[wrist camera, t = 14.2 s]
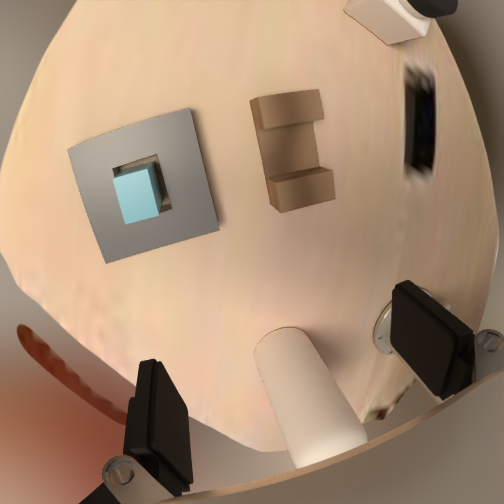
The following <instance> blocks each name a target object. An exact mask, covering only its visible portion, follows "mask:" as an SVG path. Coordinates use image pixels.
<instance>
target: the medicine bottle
mask: <svg viewBox="0 0 504 504" xmlns="http://www.w3.org/2000/svg"><path fill="white" fill-rule="evenodd" d="M457 5H458V0H349V2H348V3H347V5H346V7H345V9H344V12H345V13H347V14H348V15H349V16H351V17H352V18H354V19H355V20H356V21H358V22H359V23H360V24H362V25H363V26H364V27H366V28H367V29H368V30H369V31H371V32H372V33H373V34H374V35H376V36H377V37H378V38H379V39H381V40H382V41H383V42H384V43H385V44H387V45H391V44H395V43H399V42H403V41H408V40H412V39H417V38H421V37H425V36H426V34H427V31H428V28H429V26H430V23H431V21H432V18H437V17H441V16H445V15H450V14H453V13H455V11H456V9H457Z"/></svg>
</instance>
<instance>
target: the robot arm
mask: <svg viewBox="0 0 504 504" xmlns="http://www.w3.org/2000/svg"><path fill="white" fill-rule="evenodd" d="M450 309H451V305H450V304H449V303H448V302H447V303H445V304H443V305H441V304H440V303H438V302H437V301H436V300H434V299H433V297H432V295H431V294H430V293H429V292H428V291H426V290H425V289H422V288H419V287H418V286H416V285H415V284H414V283H413V282H411V281H410V280H406V281H403V282H401V283H398V284H396V285H395V289H393V291H392V302H391V303H390V304H389V305H388V306H387V307H386V308H385V310H384V311H383V312H382V314H381V316H380V317H379V319H378V321H377V324H376V326H375V329H374V335H373V340H374V344H375V346H376V348H377V349H378V350H379V351H380V352H381V353H383V354H387V355H391V354H395V355H396V356H397V357H398V358H399V359H400V360H401V362H402V363H403V364H404V365H405V366H406V367H407V368H408V370H409V371H410V372H411V373H412V374H413V375H414V377H415V378H416V379H417V380H418V381H419V382H420V384H421V385H422V386H423V387H424V388H425V389H426V391H427V392H428V393H429V394H430V395H431V396H432V398H433V399H434V400H435V401H436V402H437V404H438V406H436V407H435V408H433V409H431V410H430V411H428V412H426V413H424V414H423V415H421V416H419V417H417V418H415V419H414V420H412V421H410V422H408V423H406V424H404V425H402V426H400V427H399V428H396V429H394V430H393V431H390V432H389V433H386V434H385V435H382V436H380V437H378V438H376V439H374V440H372V441H369V442H367V443H365V444H363V445H360V446H358V447H356V448H353V449H351V450H348V451H346V452H343V453H341V454H338V455H336V456H333V457H331V458H328V459H325V460H322V461H320V462H317V463H314V464H311V465H308V466H305V467H302V468H299V469H296V470H292V471H289V472H286V473H282V474H279V475H275V476H272V477H268V478H264V479H260V480H256V481H252V482H247V483H243V484H239V485H234V486H230V487H225V488H220V489H214V490H209V491H204V492H198V493H193V494H188V495H182V492H187V491H190V485H189V484H192V483H193V471H192V460H191V448H190V435H189V420H188V410H187V407H186V404H185V403H184V401H183V399H182V398H181V396H180V394H179V392H178V391H177V389H176V387H175V385H174V384H173V382H172V380H171V378H170V376H169V375H168V373H167V371H166V369H165V367H164V366H163V364H162V362H161V361H158V362H157V361H156V360H155V359H150V360H145V361H141V362H140V364H139V370H138V377H137V384H136V392H135V397H131V398H130V400H129V406H128V413H127V421H126V430H125V439H124V448H123V455H118V456H114V457H112V458H111V459H109V460H108V461H107V462H106V463H105V465H104V467H103V469H102V480H103V483H102V484H101V485H100V486H99V487H98V488H96V489H95V490H94V491H93V492H92V493H91V494H90V495H88V496H87V497H86V498H85V499H84V500H83V501H81V502H80V503H79V504H504V336H503V335H502V334H501V333H500V332H498V331H495V330H491V329H486V330H482V331H480V332H479V333H477V334H476V336H475V335H474V334H473V330H471V329H470V328H469V327H468V326H467V325H465V324H464V323H463V322H462V321H461V320H459V319H458V318H457V317H456V316H454V314H453V312H452V311H451V310H450Z"/></svg>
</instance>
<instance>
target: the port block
mask: <svg viewBox="0 0 504 504" xmlns="http://www.w3.org/2000/svg"><path fill="white" fill-rule="evenodd" d="M67 150H68V154H69V158H70V161H71V165H72V169H73V172H74V175H75V179H76V182H77V185H78V188H79V192H80V195H81V198H82V201H83V204H84V207H85V210H86V213H87V215H88V218H89V221H90V224H91V227H92V229H93V232H94V235H95V237H96V240H97V243H98V245H99V248H100V250H101V253H102V255H103V258H104V260H105V263H106V264H107V263H110V262H114V261H117V260H120V259H123V258H127V257H130V256H133V255H136V254H140V253H143V252H146V251H150V250H153V249H156V248H160V247H163V246H167V245H170V244H173V243H177V242H180V241H184V240H187V239H191V238H194V237H198V236H201V235H205V234H208V233H212V232H215V231H219V230H220V229H219V225H218V221H217V217H216V213H215V209H214V205H213V201H212V197H211V194H210V190H209V186H208V181H207V177H206V173H205V169H204V165H203V161H202V157H201V153H200V149H199V145H198V140H197V136H196V132H195V128H194V123H193V119H192V115H191V111H190V108H188V109H184V110H180V111H176V112H173V113H169V114H165V115H162V116H158V117H155V118H152V119H148V120H145V121H142V122H139V123H136V124H133V125H129V126H126V127H124V128H121V129H118V130H115V131H112V132H109V133H107V134H104V135H101V136H98V137H96V138H93V139H91V140H88V141H86V142H83V143H81V144H78V145H76V146H73V147H71V148H69V149H67ZM155 154H157V155H158V159H159V163H160V166H161V170H162V174H163V177H164V181H165V185H166V188H167V192H168V195H169V199H170V202H171V204H168V205H164V206H161V209H160V214H159V216H155V217H152V218H148V219H144V220H140V221H137V222H133V223H129V224H126V225H125V222H124V218H123V215H122V212H121V208H120V205H119V201H118V197H117V194H116V190H115V186H114V182H113V178H114V177H115V176H117V175H118V174H119V170H118V166H121V165H124V164H127V163H130V162H133V161H136V160H139V159H142V158H145V157H148V156H152V155H155Z"/></svg>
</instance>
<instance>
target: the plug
mask: <svg viewBox="0 0 504 504" xmlns="http://www.w3.org/2000/svg"><path fill="white" fill-rule="evenodd" d="M113 182H114V186H115V190H116V194H117V197H118V201H119V205H120V208H121V212H122V215H123V218H124V222H125V225H126V224H129V223H133V222H137V221H140V220H144V219H148V218H152V217H155V216H159V214H160V209H161V205H162V200H163V199H162V195H161V191H160V187H159V182H158V178H157V174H156V170H155V165H154V161H153V162H149V163H146V164H142V165H138V166H135V167H131V168H128V169H125V170H123V171H122V172H121V173H119V174H118V175H117V176H115V177H114V178H113Z"/></svg>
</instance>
